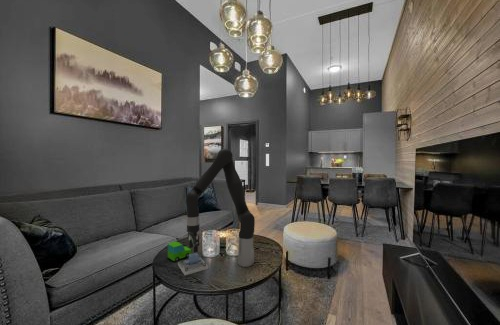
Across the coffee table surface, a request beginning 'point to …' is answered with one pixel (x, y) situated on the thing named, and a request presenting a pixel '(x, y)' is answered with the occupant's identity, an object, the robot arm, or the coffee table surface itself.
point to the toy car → (177, 251)
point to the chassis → (192, 267)
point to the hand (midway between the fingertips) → (193, 249)
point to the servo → (193, 259)
